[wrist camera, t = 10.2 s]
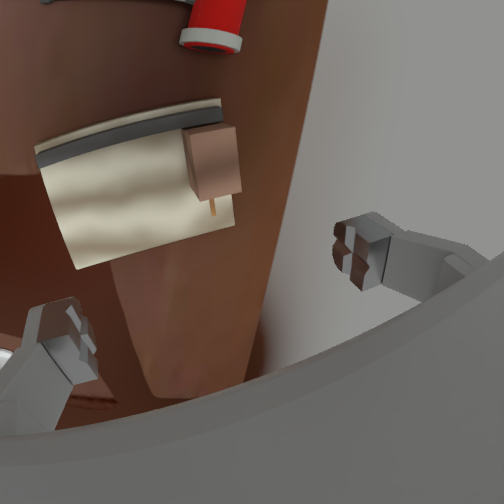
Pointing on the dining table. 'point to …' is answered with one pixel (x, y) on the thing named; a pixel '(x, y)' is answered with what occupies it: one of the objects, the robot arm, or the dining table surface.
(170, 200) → the board
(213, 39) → the toy hammer
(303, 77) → the dining table surface
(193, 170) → the brown cardboard brick
